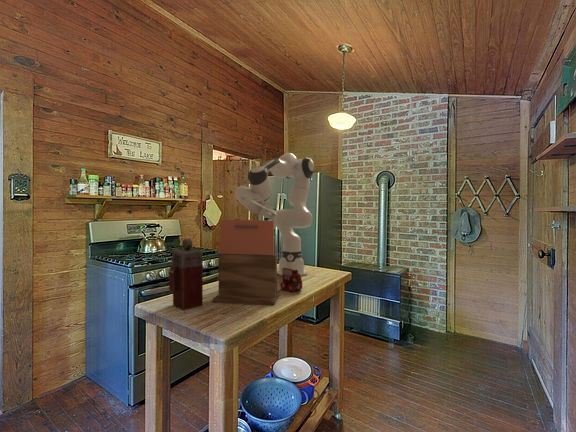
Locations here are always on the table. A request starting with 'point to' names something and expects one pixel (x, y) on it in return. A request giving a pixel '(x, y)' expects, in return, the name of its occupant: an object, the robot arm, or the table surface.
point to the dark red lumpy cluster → (291, 280)
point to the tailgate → (247, 237)
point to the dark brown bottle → (186, 277)
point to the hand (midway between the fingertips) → (269, 215)
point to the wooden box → (247, 279)
